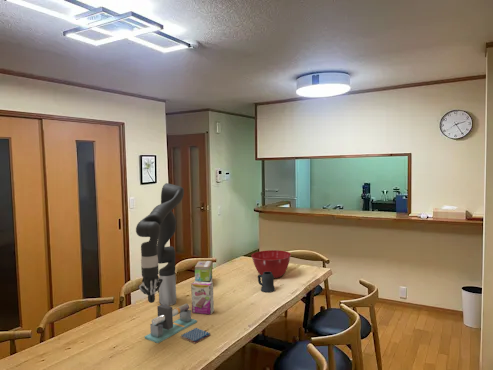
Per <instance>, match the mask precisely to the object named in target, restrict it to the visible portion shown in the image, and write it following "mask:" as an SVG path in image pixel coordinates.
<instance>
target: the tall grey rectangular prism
mask: <svg viewBox="0 0 493 370" xmlns="http://www.w3.org/2000/svg"><path fill="white" fill-rule="evenodd" d="M156 309H157V317H158V316H160V315H165V321H163V322H161V323H160V324H163V328H164V329H167V330H169V329H171V328H173V322H174V319H173V318H174V316H173V314H172V310H173V307H172V306H171V305H169V306H167V305H163V304H160V305H157V306H156Z"/></svg>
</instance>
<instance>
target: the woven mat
mask: <svg viewBox="0 0 493 370" xmlns="http://www.w3.org/2000/svg"><path fill="white" fill-rule="evenodd" d="M210 336H211V332H209V331H207V330H204V329H201V328H198V327H194V328H193V329H191V330H189V331H187V332H184V333H183V334H181V336H180V338H181V339H182V340H184V341H188V342H189V343H192V344H194V345H195V344H197V343H199V342H201V341H203V340H205V339H206V338H208V337H210Z"/></svg>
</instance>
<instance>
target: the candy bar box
mask: <svg viewBox="0 0 493 370" xmlns="http://www.w3.org/2000/svg"><path fill="white" fill-rule="evenodd" d="M190 287H191V288H190V289H191V290H190V291H191V314H201V315H209V316H210V315H212V314H213V313H214V312H215V308H214V306H215V304H214V302H215V300H214V282H213V281H212V282H199V281H195V280H194V281H193V282H192V283H191V286H190Z"/></svg>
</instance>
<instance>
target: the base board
mask: <svg viewBox="0 0 493 370" xmlns="http://www.w3.org/2000/svg"><path fill="white" fill-rule="evenodd" d="M197 322H198V320H197V319H195V318H191V321H190V322H188V323H186V322H182V321H180V318H178V319H176V320H173V328H171V329H169V330H167V329H164V328H163V336H162V337H160V338H156V337H153V336H151V332H150V333H148V334H146V335H145V336H144V340H148V341H151V342H153V343H155V344H160V343H161V342H163V341H165V340H167V339H168V338H170V337H172V336H174V335H176V334H178V333H179V332H182V331H183V330H186V329H187V328H189V327H190V326H193V325H194V324H196V323H197Z"/></svg>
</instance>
